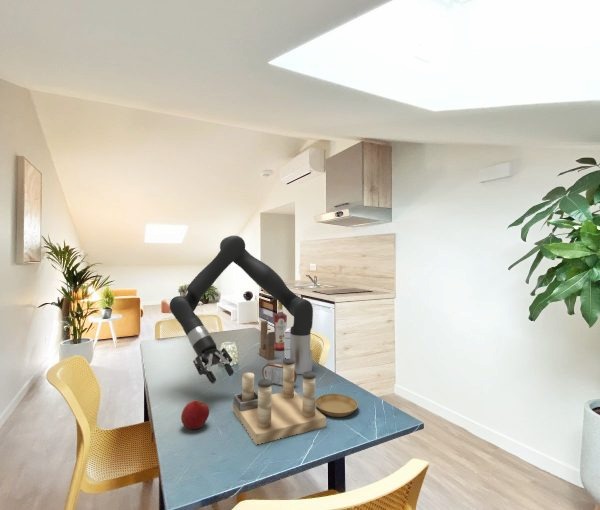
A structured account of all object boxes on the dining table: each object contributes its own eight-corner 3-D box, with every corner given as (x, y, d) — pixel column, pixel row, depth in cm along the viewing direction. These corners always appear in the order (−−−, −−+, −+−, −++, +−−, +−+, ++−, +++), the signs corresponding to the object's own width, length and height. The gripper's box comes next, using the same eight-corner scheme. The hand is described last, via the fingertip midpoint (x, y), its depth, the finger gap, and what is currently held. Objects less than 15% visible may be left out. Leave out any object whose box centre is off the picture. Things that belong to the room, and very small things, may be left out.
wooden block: (268, 360, 169) (268, 324, 169) (258, 354, 178) (259, 320, 178) (274, 359, 171) (275, 323, 171) (265, 353, 180) (265, 320, 180)
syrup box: (295, 359, 171) (295, 331, 171) (283, 358, 172) (284, 330, 172) (297, 356, 176) (297, 328, 176) (286, 355, 178) (286, 328, 178)
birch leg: (251, 400, 116) (251, 371, 116) (255, 405, 112) (255, 375, 112) (240, 403, 114) (240, 373, 114) (244, 407, 110) (244, 377, 110)
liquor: (285, 347, 193) (286, 298, 193) (287, 350, 186) (287, 300, 186) (272, 347, 192) (273, 298, 192) (274, 351, 185) (274, 300, 185)
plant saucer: (362, 405, 120) (362, 398, 120) (351, 424, 107) (351, 416, 107) (323, 397, 127) (323, 390, 127) (308, 414, 113) (308, 406, 113)
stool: (293, 398, 125) (293, 355, 125) (325, 426, 105) (326, 376, 105) (232, 410, 115) (233, 364, 115) (256, 445, 94) (256, 389, 94)
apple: (201, 435, 99) (202, 408, 99) (176, 432, 101) (176, 405, 101) (212, 422, 107) (213, 397, 107) (189, 419, 108) (189, 395, 108)
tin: (297, 386, 137) (297, 365, 137) (293, 389, 134) (293, 368, 134) (265, 380, 143) (265, 360, 143) (261, 382, 140) (261, 362, 140)
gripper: (191, 339, 118) (213, 378, 112) (220, 331, 130) (242, 366, 124) (181, 351, 121) (202, 390, 115) (211, 342, 133) (232, 378, 127)
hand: (223, 378), depth 119 cm, fingers open, 8 cm apart
